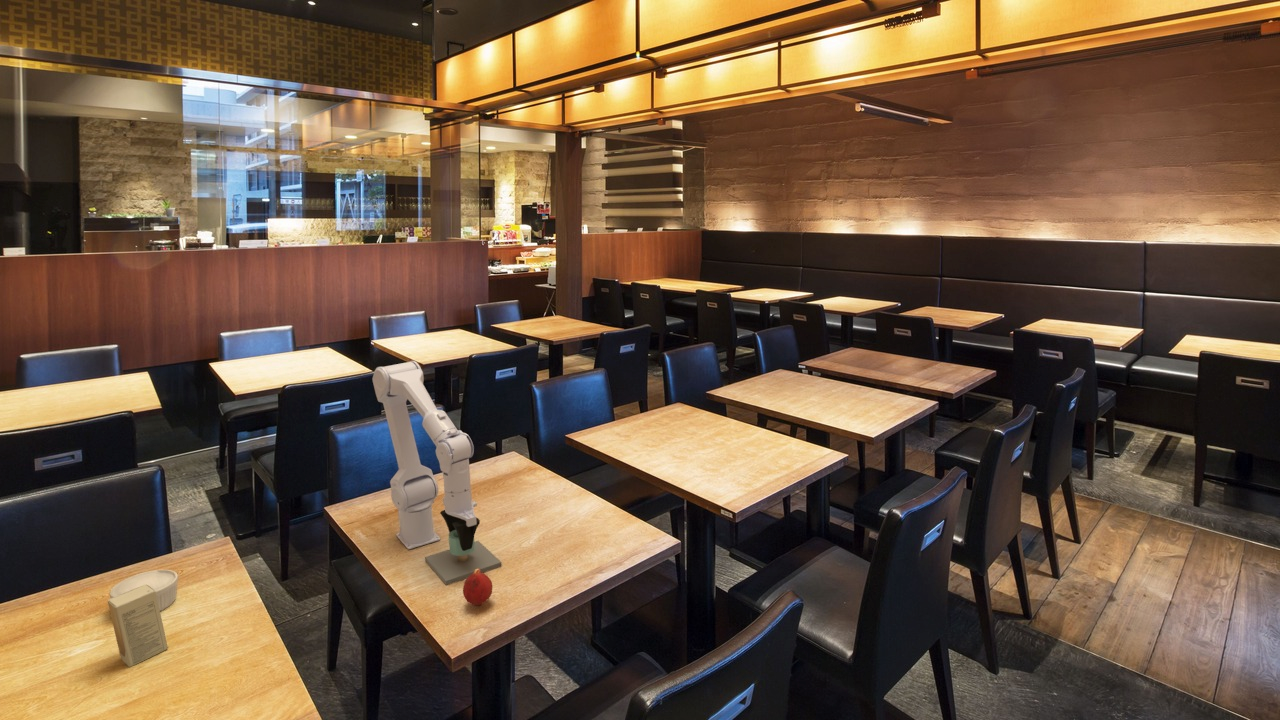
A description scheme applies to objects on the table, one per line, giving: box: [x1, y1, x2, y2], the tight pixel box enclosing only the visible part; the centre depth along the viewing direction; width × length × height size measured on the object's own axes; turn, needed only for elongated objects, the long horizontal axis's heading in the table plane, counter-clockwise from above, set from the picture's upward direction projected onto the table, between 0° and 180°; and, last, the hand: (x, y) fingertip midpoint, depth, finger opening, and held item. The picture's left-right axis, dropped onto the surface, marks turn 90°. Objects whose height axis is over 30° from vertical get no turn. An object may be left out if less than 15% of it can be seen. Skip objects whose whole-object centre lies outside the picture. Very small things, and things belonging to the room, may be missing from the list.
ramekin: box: [109, 569, 179, 612], centre depth 135 cm, size 11×11×5 cm
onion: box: [462, 569, 493, 607], centre depth 134 cm, size 6×6×8 cm
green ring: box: [448, 530, 475, 556], centre depth 150 cm, size 5×5×4 cm
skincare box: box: [107, 584, 169, 668], centre depth 119 cm, size 6×4×12 cm
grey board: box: [424, 540, 503, 586], centre depth 151 cm, size 13×13×1 cm
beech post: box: [458, 554, 468, 562], centre depth 150 cm, size 2×2×5 cm
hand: (461, 544), depth 150 cm, fingers closed on green ring, 5 cm apart
